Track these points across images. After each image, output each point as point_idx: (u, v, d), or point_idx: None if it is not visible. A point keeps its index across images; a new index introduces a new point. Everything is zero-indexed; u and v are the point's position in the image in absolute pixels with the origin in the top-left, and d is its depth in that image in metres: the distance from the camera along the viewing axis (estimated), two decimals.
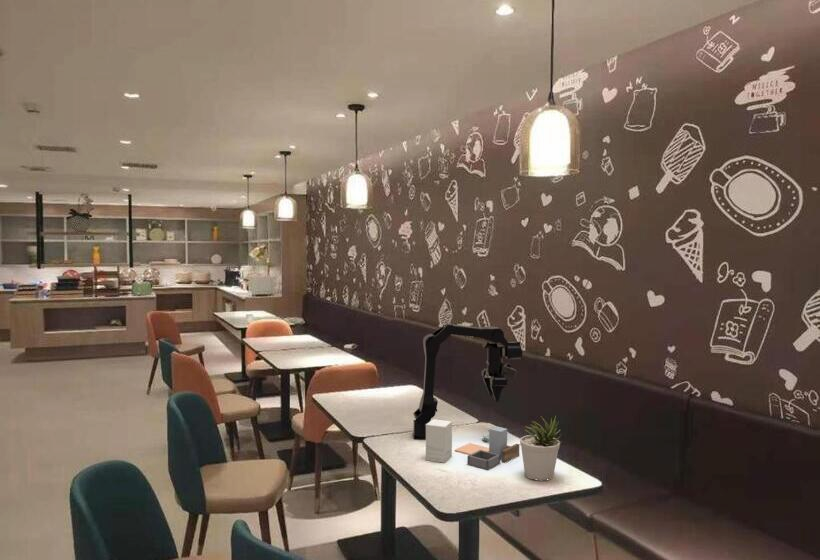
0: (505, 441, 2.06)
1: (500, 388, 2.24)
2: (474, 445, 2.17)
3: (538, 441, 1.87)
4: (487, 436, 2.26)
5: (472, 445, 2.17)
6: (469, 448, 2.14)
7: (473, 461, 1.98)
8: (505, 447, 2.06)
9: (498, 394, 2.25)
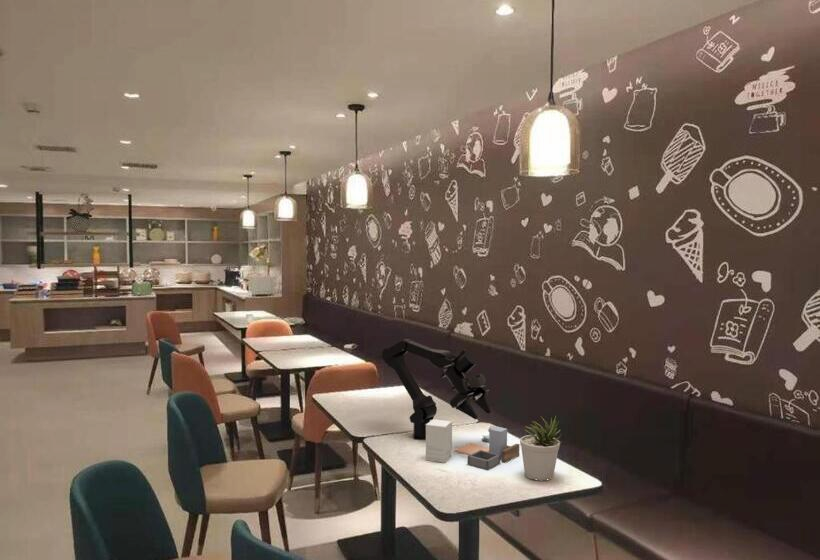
0: (505, 441, 2.06)
1: (466, 405, 2.08)
2: (474, 445, 2.17)
3: (538, 441, 1.87)
4: (487, 436, 2.26)
5: (472, 445, 2.17)
6: (469, 448, 2.14)
7: (473, 461, 1.98)
8: (505, 447, 2.06)
9: (470, 411, 2.07)
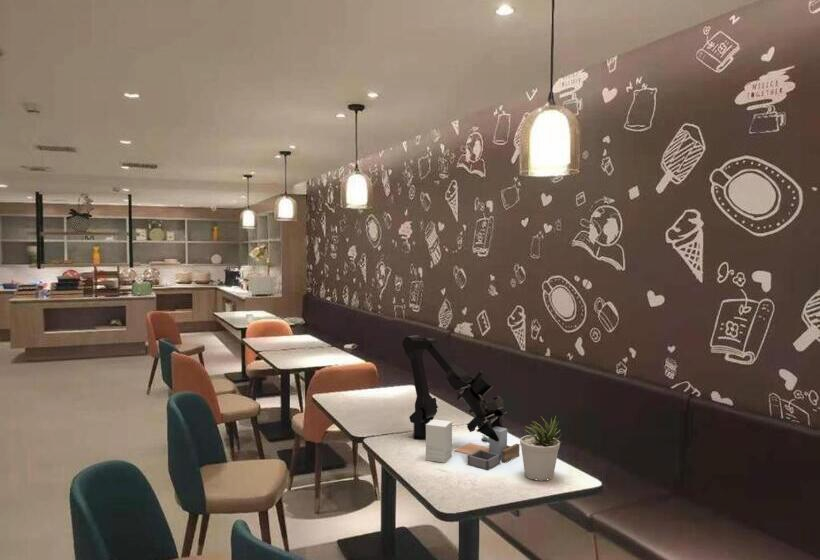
0: (505, 441, 2.06)
1: (487, 427, 2.04)
2: (474, 445, 2.17)
3: (538, 441, 1.87)
4: None
5: (472, 445, 2.17)
6: (469, 448, 2.14)
7: (473, 461, 1.98)
8: (505, 447, 2.06)
9: (491, 433, 2.04)
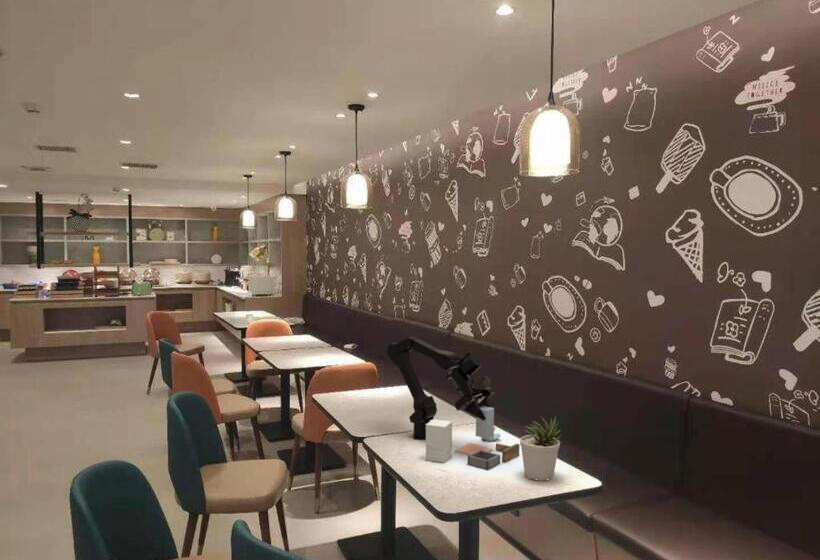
0: (492, 420, 2.09)
1: (474, 406, 2.08)
2: (474, 445, 2.17)
3: (538, 441, 1.87)
4: None
5: (472, 445, 2.17)
6: (469, 448, 2.14)
7: (473, 461, 1.98)
8: (492, 427, 2.10)
9: (478, 412, 2.07)
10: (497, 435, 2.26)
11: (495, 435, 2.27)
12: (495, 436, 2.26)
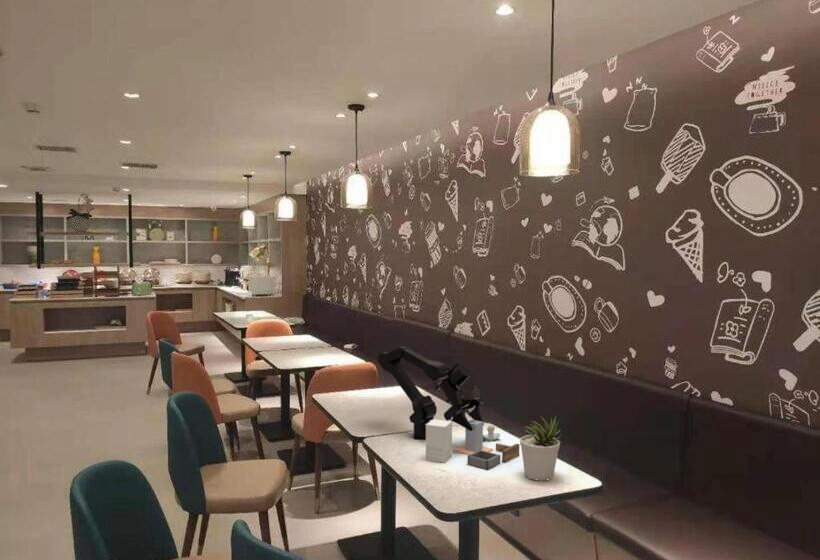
0: (481, 434, 2.12)
1: (462, 417, 2.10)
2: None
3: (538, 441, 1.87)
4: (486, 435, 2.28)
5: None
6: None
7: (473, 461, 1.98)
8: (481, 440, 2.13)
9: (465, 423, 2.09)
10: (497, 435, 2.27)
11: (495, 435, 2.27)
12: (495, 436, 2.27)
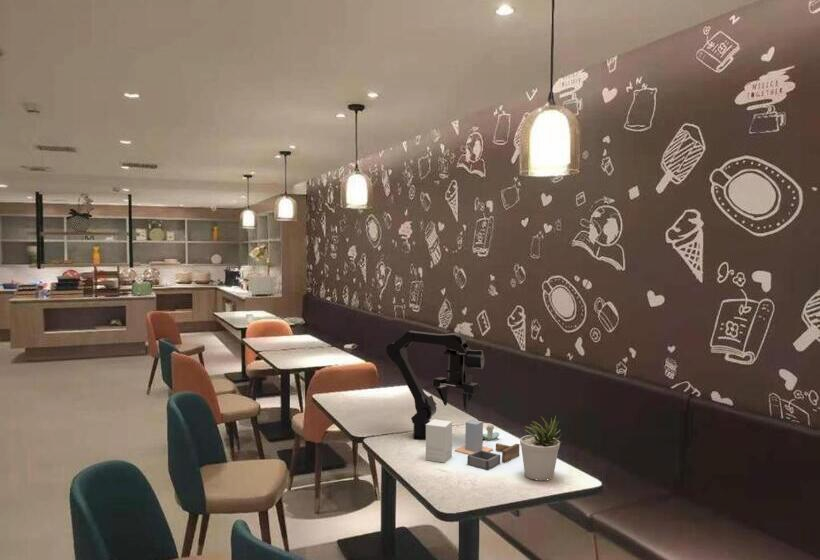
0: (481, 434, 2.12)
1: (470, 395, 2.19)
2: None
3: (538, 441, 1.87)
4: (485, 434, 2.29)
5: None
6: None
7: (473, 461, 1.98)
8: (481, 440, 2.13)
9: (468, 402, 2.19)
10: (496, 434, 2.28)
11: (494, 434, 2.28)
12: (494, 435, 2.28)
